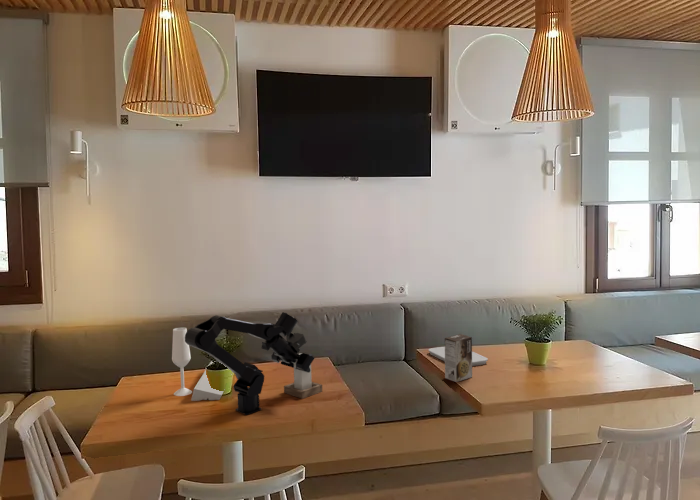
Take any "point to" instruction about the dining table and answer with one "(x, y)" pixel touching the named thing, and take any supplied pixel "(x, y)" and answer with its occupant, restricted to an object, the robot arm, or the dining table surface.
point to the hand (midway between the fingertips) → (305, 370)
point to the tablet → (440, 354)
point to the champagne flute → (180, 356)
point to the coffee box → (458, 357)
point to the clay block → (302, 379)
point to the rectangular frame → (303, 393)
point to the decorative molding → (205, 390)
